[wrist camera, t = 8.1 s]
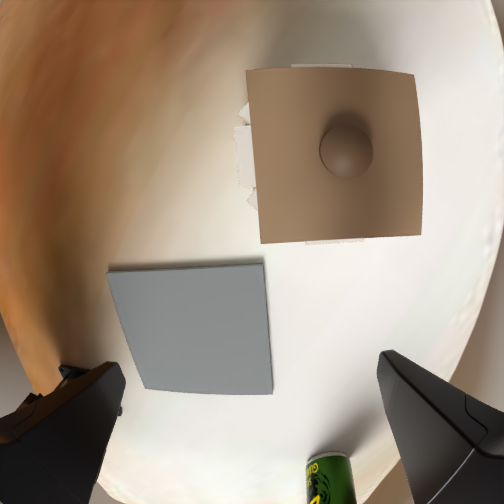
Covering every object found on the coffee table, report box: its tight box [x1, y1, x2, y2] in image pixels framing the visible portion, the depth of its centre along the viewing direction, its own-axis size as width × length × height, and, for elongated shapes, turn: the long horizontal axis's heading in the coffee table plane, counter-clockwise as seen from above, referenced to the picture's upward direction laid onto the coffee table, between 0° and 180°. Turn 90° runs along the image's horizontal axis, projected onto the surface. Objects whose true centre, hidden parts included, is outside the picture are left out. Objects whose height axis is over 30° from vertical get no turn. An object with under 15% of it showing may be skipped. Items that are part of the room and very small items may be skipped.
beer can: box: [306, 452, 357, 504], centre depth 21 cm, size 5×5×12 cm
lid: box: [246, 67, 423, 244], centre depth 11 cm, size 7×7×3 cm
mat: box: [106, 263, 273, 395], centre depth 22 cm, size 12×12×1 cm
